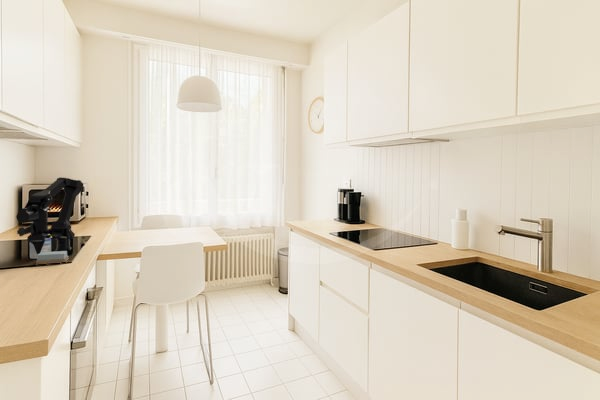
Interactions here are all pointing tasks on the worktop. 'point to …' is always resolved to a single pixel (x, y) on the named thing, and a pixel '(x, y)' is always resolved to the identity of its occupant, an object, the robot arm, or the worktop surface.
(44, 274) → the worktop surface
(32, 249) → the medicine box
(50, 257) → the tower top
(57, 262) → the tower base
